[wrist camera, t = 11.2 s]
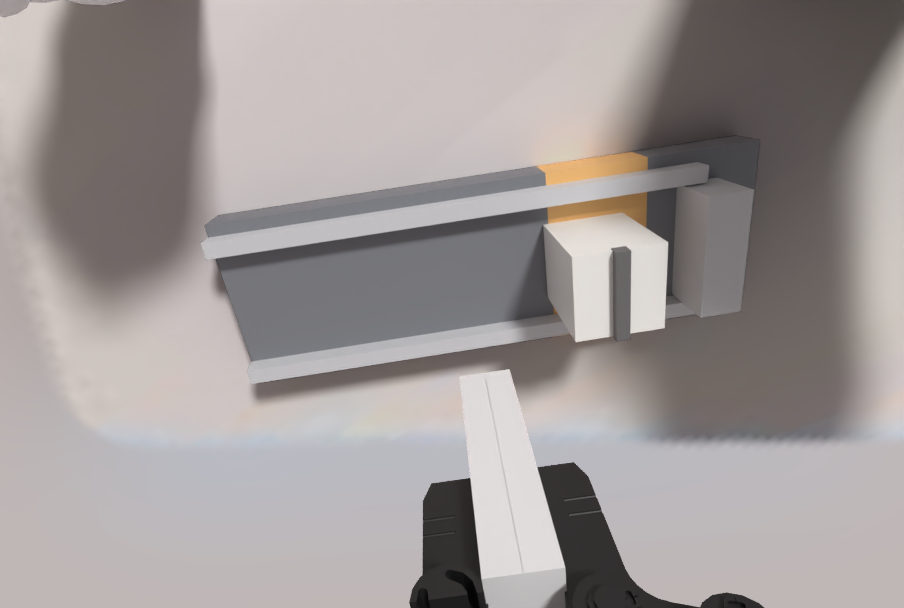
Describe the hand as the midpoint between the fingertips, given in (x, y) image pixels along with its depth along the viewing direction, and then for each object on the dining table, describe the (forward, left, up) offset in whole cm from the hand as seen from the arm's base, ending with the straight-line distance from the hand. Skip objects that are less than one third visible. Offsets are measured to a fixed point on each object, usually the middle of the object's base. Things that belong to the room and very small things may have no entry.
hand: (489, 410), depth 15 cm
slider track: (0, +2, -14) cm, 14 cm away
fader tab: (0, +7, -12) cm, 13 cm away
